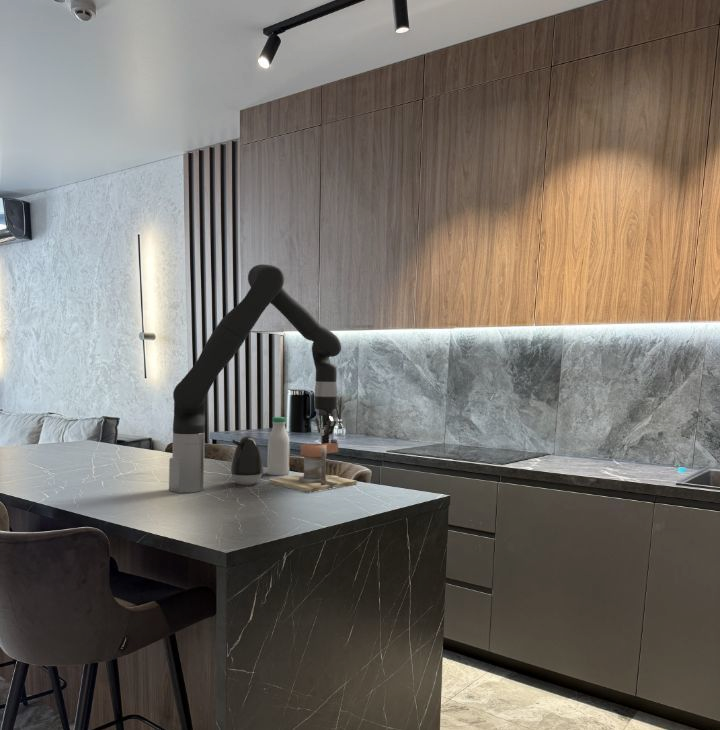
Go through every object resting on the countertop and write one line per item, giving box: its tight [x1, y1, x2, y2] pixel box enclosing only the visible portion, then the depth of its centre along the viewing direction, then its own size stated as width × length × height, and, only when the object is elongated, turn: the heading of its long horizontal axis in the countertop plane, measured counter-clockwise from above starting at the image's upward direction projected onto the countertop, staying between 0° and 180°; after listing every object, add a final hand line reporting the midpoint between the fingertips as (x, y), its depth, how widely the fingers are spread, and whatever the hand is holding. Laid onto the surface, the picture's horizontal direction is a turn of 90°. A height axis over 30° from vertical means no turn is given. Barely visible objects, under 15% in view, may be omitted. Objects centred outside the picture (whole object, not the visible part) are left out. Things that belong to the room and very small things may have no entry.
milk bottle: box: [266, 416, 291, 476], centre depth 209 cm, size 8×8×20 cm
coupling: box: [299, 438, 339, 457], centre depth 193 cm, size 14×8×4 cm, turn 135°
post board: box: [268, 448, 358, 493], centre depth 191 cm, size 20×20×12 cm
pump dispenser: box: [230, 436, 264, 486], centre depth 189 cm, size 10×10×15 cm
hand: (325, 446), depth 199 cm, fingers closed
